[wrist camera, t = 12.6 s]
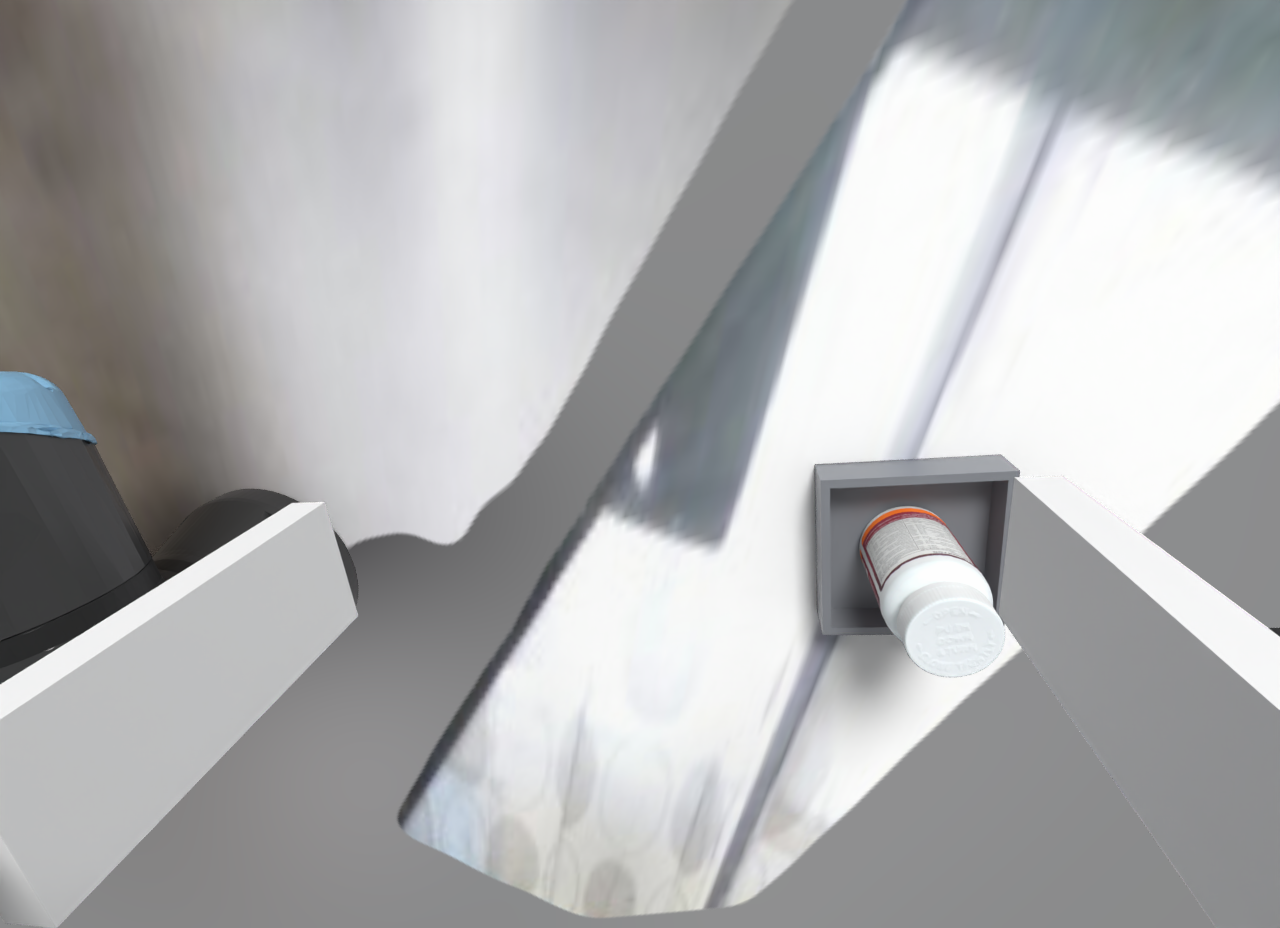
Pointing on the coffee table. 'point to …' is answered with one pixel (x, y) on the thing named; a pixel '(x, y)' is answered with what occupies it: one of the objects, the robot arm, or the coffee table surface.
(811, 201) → the coffee table surface
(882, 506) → the tray
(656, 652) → the coffee table surface
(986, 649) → the pill bottle
